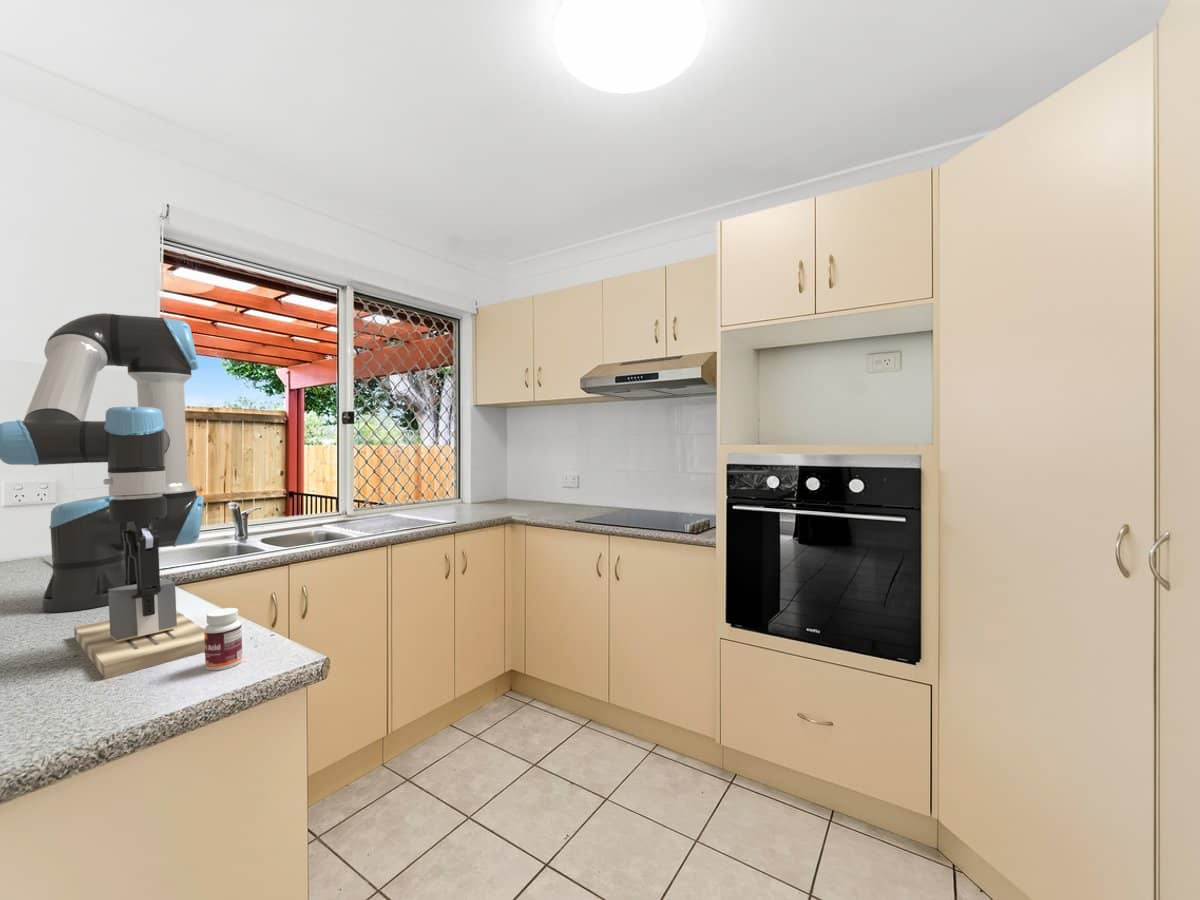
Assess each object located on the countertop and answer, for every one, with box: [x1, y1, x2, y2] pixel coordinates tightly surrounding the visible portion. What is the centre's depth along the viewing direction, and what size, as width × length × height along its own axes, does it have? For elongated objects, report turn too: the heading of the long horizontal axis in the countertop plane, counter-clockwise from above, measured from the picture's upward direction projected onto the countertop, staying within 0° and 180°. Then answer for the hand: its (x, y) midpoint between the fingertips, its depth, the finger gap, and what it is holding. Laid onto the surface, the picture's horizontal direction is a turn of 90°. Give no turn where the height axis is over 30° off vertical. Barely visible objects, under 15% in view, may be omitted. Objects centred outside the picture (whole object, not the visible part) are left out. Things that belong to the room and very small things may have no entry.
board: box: [73, 610, 205, 680], centre depth 93 cm, size 28×14×2 cm, turn 51°
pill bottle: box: [204, 607, 243, 671], centre depth 83 cm, size 5×5×8 cm
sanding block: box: [108, 578, 177, 642], centre depth 92 cm, size 8×5×8 cm, turn 141°
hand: (144, 630), depth 92 cm, fingers closed on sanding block, 5 cm apart
